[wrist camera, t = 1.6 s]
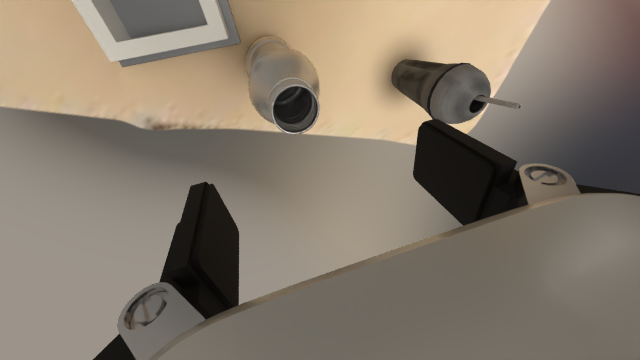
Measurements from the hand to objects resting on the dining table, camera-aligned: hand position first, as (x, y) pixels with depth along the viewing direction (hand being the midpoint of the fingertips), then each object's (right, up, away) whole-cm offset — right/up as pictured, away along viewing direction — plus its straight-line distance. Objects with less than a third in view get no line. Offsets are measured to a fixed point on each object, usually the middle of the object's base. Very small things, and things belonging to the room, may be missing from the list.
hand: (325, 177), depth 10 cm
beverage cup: (+14, +17, +28) cm, 36 cm away
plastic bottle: (-7, +16, +22) cm, 28 cm away
